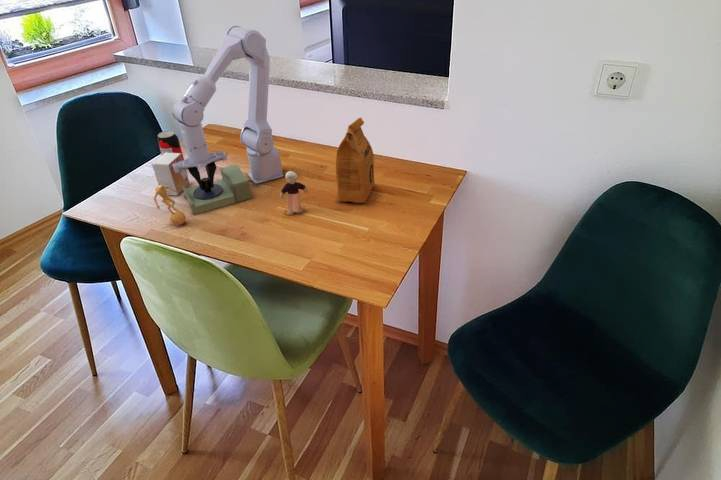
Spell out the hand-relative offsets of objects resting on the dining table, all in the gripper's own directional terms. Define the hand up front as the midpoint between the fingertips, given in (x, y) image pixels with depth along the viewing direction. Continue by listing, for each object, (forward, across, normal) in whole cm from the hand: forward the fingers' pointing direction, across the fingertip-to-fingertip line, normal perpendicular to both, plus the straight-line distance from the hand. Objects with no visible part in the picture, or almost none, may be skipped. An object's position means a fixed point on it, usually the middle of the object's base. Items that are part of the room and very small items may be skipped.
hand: (206, 187), depth 140 cm
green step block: (+4, +2, 0) cm, 5 cm away
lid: (+2, 0, 0) cm, 2 cm away
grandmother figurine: (+4, +20, -20) cm, 28 cm away
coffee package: (+4, +38, -21) cm, 44 cm away
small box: (+4, -8, +12) cm, 15 cm away
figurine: (+4, -11, -8) cm, 15 cm away
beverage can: (+4, -4, +27) cm, 28 cm away
